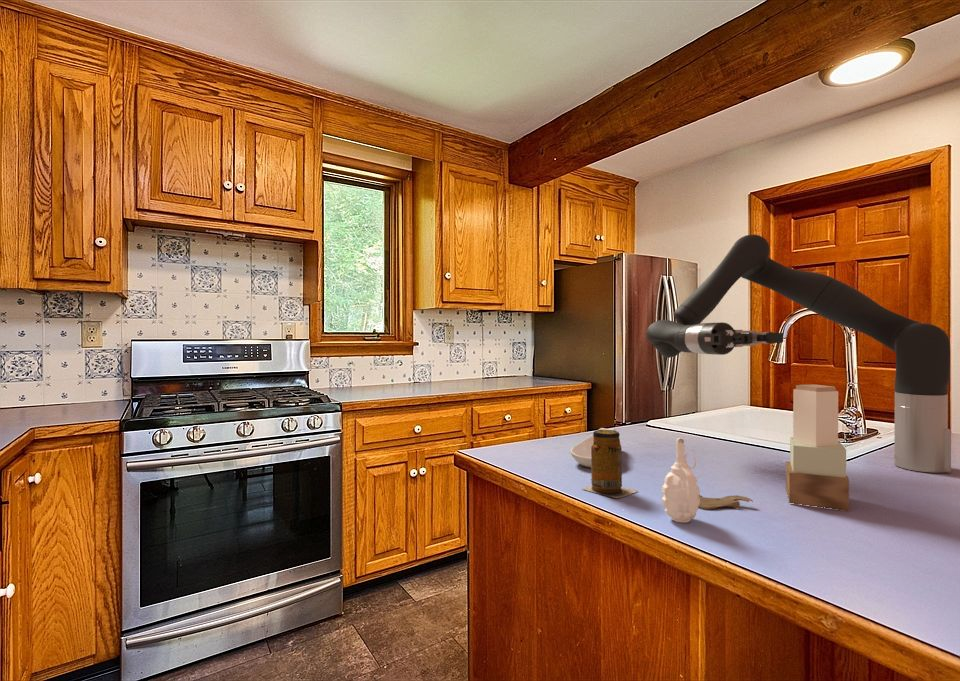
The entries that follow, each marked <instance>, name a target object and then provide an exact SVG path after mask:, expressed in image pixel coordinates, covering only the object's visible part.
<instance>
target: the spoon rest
mask: <svg viewBox="0 0 960 681" xmlns="http://www.w3.org/2000/svg"><path fill="white" fill-rule="evenodd" d="M598 430H614V431H617V430H616V429H614V428H611V429H608V428H604V427H601V428H599V429H598ZM593 442H594V441H593V433H592V434H591V435H588V437H586V438H585V439H583V440H582V441H580V442H578V443H577V444H575V445H574V446H573V447H572V448H570V455H571V456H572V458H573V459H574V460H575V461H576V463H578V464H580V465H581V466H583V467H585V468H590V469H591V446H592V444H593ZM620 445H621V446H622V444H621V443H620Z"/></svg>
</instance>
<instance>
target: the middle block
mask: <svg viewBox="0 0 960 681" xmlns="http://www.w3.org/2000/svg"><path fill="white" fill-rule="evenodd" d="M789 439H790V440H789V446H790V447H789V450H790V451H789V457H790V458H789V462H790V463H791V466H792V470H793V472H794V473H804V474H813V475H823V476H833V477H843V478H846V475H847V449H846V448H845V447H844V445H843V444H842V442H840V441H839V440H838V445H832V446H818V447H815V446H811V445H807V444H803V443H799V442H795V441H793V436H792V437H789Z"/></svg>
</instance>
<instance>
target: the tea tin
mask: <svg viewBox="0 0 960 681" xmlns="http://www.w3.org/2000/svg"><path fill="white" fill-rule="evenodd" d="M836 389H837V388H836V386H830V385H824V384H821V385H820V384H796V385H795V388H794V389H793V390H792V391H793V396H792V397H793V398H792V399H793V400H792V401H793V403H792V406H793V412H792V419H793V420H792V424H793V425H792V428H793V429H792V430H793V431H792V438H793V441H795V442H799V443H803V444H807V445H811V446H815V447H818V446H832V445H838V441H839V391H838V390H836Z"/></svg>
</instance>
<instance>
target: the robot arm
mask: <svg viewBox="0 0 960 681" xmlns="http://www.w3.org/2000/svg"><path fill="white" fill-rule="evenodd" d="M770 250H771V249H770V244H769V242H768V240H767V239H766V238H765V237H763V236H761V235H759V234H752V233H751V234H748V235H747V234H746V235H744V236H741V237H740V238H738V239H737V240H736V241H734V244H733V245H732V247H731V248H730V249H729V251H728V252H727V254H726V255H725V256H724V258H723V259H722V260H721V262H720V263H719V264H718V265H717V267H716V268H715V269H714V270H713V271H712V272H711V273H710V274H709V276H708V277H707V278H706V279H705V280H704V281H703V282H702V283H701V284H700V285H699V286H698V287H697V288H696V289H695V290H694V291H693V292H692V293H691V294H690V295H688V297H687V298H686V299H685V300H684V301H683V302H682V303H681V304H680V305H679V306H678V307H677V308H676V309H675V310H674V312H673V317H674V320H675V321H673V320H669V319H660V320H657V321H654V322H652V323H651V324H650V325H649V326H648V327H647V329H646V331H645V332H646V339H647V340H648V341H649V343H650V344H651V345H652V346H653V347H654V348H655V349H656V350H657V352H659V354H660V355H661V356H662V357H664V358H668V359H669V358H674V357H676V356H678V355H679V354H680V353H691V354H692V353H693V354H699V355H700V354H701V355H719V356H720V355H721V356H723V355H728V354H729V353H731V352H732V351H733V350H734V348H743V347H754V346H756V347H757V346H758V344H765V345H768V344H769V345H771V344H782V343H784V333H783V332H773V331H765V332H760V331H759V332H758V330H743V329H734V327H732V325H731V324H729V323H728V322H704V323H703V321H704V320H705V319H706V318H708V316H709V315H710V314H711V313H712V312H713V311H714V310H715V309H716V307H717V306H718V305H719V304H720V302H721V301H722V299H723V298H724V297H725V295H726V294H727V293H728V292H729V290H730V289H731V288H732V287H733V286H734V285H735V283H736V282H737V281H738V280H740V278H742V279H744V280H747V281H750V282H752V283H755V284H756V285H760V286H762V287H765V288H767V289H769V290H772V291H773V292H776V293H777V294H780V295H782V296H783V297H785V298H786V299H789V300H791V301H793V302H794V303H796V304H798V305H800V306H802V307H804V308H805V309H807V310H809V311H811V312H813V313H815V314H817V315H818V316H821V317H823V318H825V319H827V320H828V321H831V322H834V323H837V324H839V325H841V326H844V327H846V328H848V329H851V330H854V331H856V332H859V333H861V334H864V335H867V336H868V337H870V338H872V339H874V340H875V341H877V342H878V343H881V344H882V345H883V346H886V347H887V348H888V349H890V350H891V351H892V352H895V376H894V454H893V459H894V462H893V463H894V465H895V466H897V467H898V468H902V469H905V470H911V471H916V472H923V473H933V474H934V473H952V429H950V428H948V427H949V426H948V422H949V421H948V420H949V417H948V416H949V415H948V412H949V411H948V410H949V408H948V406H949V405H948V404H949V402H948V401H949V400H948V398H949V395H948V394H949V391H948V390H949V383H950V378H951V341H950V338H949V336H948V334H947V332H946V331H944V329H942V328H940V327H939V326H937V325H935V324H932V323H925V322H919V321H917V320H913V319H911V318H908V317H906V316H903V315H902V314H899V313H896V312H894V311H891V310H889V309H887V308H885V307H883V306H882V305H880V304H879V303H877V302H876V301H874V300H873V299H872V298H870V297H868V296H867V295H866V294H864V293H863V292H861V291H859V290H858V289H856V288H855V287H852V286H850V285H848V284H846V283H845V282H843V281H841V280H838V279H836V278H834V277H832V276H830V275H827V274H823V273H819V272H814V271H806V270H799V269H794V268H791V267H788V266H785V265H783V264H781V263H780V262H777V261H776V260H774V259H772V258H770Z"/></svg>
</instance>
